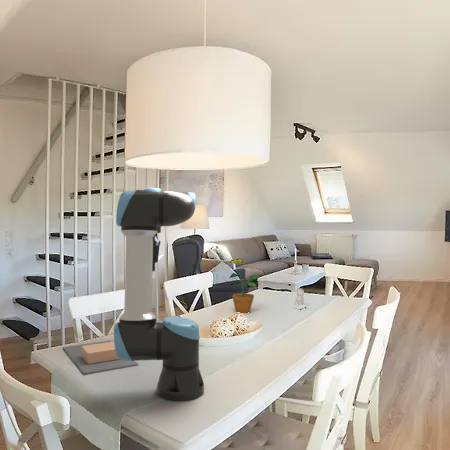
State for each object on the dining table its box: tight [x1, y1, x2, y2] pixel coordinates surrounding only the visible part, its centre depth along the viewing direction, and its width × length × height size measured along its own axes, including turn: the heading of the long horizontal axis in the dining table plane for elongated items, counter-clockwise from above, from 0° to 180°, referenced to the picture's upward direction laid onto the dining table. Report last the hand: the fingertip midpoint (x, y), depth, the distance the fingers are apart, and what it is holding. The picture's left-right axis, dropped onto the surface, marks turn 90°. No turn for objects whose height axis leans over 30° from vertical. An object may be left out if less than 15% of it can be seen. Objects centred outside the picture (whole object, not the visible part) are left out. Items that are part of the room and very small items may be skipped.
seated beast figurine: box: [293, 288, 305, 306], centre depth 273 cm, size 10×9×12 cm
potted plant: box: [229, 258, 260, 314], centre depth 259 cm, size 18×19×30 cm
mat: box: [62, 340, 139, 376], centre depth 181 cm, size 34×20×1 cm, turn 31°
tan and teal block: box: [81, 341, 119, 364], centre depth 177 cm, size 4×13×10 cm
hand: (151, 278), depth 199 cm, fingers closed
